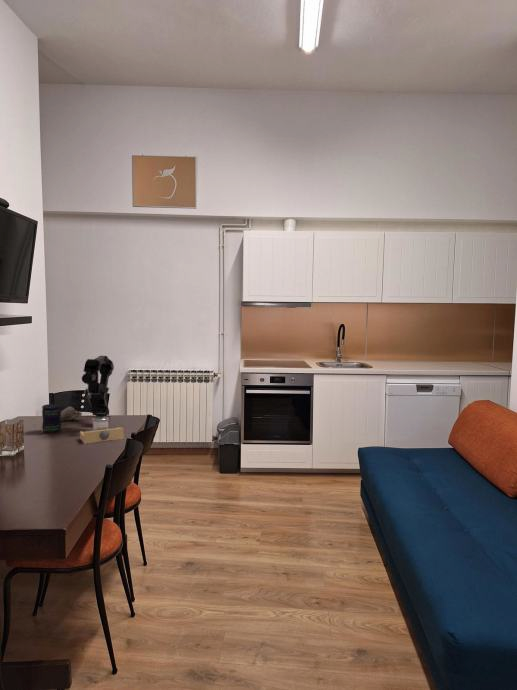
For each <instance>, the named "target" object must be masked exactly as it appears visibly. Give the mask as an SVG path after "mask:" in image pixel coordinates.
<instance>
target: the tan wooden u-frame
mask: <svg viewBox="0 0 517 690" xmlns="http://www.w3.org/2000/svg"><path fill="white" fill-rule="evenodd" d="M124 431H125V429H124V427H115V428H108V429H106V430H97V431H93V430H90V431H79V440H80V441H81V440H82V441H81V442H82V443H83V444H84V445H87V443H88V444H94V443H101V442H102V443H103V441H104V442H110V441H109V440H112V441H117V440H118V439H119V440H124V437H125V436H124Z"/></svg>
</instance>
